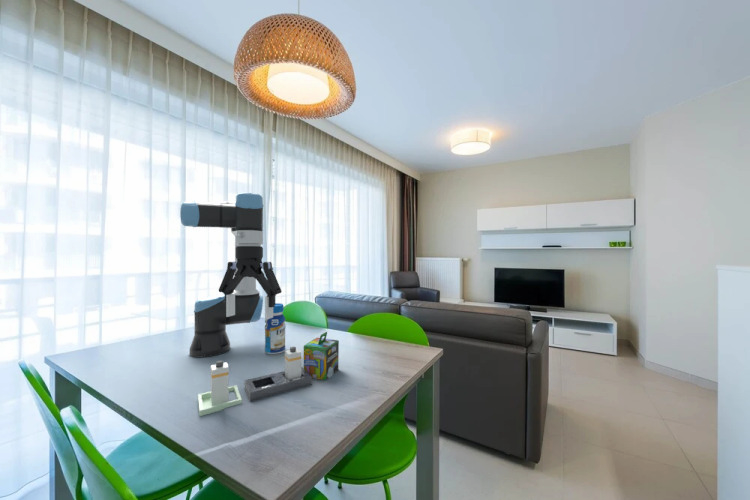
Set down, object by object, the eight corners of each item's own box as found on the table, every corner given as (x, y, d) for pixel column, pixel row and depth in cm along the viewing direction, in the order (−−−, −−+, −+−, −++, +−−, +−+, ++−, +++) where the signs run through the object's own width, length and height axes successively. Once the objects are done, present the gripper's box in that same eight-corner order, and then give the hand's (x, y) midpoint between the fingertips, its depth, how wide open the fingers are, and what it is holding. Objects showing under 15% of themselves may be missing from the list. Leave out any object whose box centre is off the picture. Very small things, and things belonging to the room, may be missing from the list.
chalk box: (316, 368, 104) (316, 328, 104) (339, 372, 101) (339, 330, 101) (302, 379, 95) (302, 335, 95) (326, 383, 92) (326, 338, 92)
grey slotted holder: (244, 391, 87) (244, 380, 87) (301, 377, 97) (301, 366, 97) (250, 405, 79) (250, 392, 79) (311, 387, 89) (311, 376, 89)
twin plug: (284, 382, 91) (284, 347, 91) (297, 378, 93) (297, 344, 93) (288, 387, 88) (288, 350, 88) (301, 383, 90) (301, 348, 90)
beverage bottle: (270, 347, 126) (270, 302, 126) (288, 348, 125) (288, 303, 125) (260, 354, 118) (260, 306, 118) (279, 355, 117) (279, 306, 117)
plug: (210, 400, 81) (210, 361, 81) (226, 396, 83) (226, 358, 83) (211, 407, 77) (211, 366, 77) (228, 402, 80) (228, 362, 80)
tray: (198, 401, 81) (198, 394, 81) (236, 391, 87) (236, 385, 87) (199, 418, 73) (199, 410, 73) (242, 406, 79) (241, 399, 79)
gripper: (205, 245, 85) (205, 317, 84) (278, 244, 78) (278, 322, 78) (225, 246, 92) (225, 312, 92) (293, 245, 85) (293, 316, 85)
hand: (249, 317), depth 85 cm, fingers open, 13 cm apart
